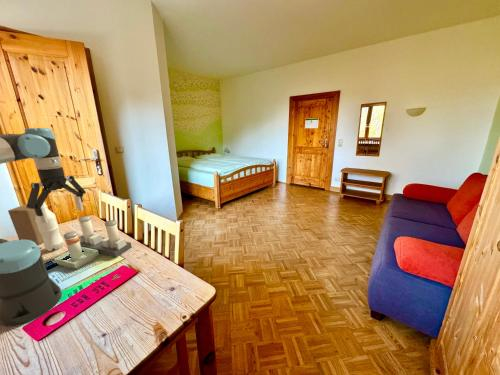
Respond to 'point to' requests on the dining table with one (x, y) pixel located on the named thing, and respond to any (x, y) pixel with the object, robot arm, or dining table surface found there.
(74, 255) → the marked fuse
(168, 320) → the dining table surface
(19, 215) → the wooden block
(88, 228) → the fuse far
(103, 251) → the block
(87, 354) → the dining table surface
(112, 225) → the cylinder
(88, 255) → the tray
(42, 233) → the water bottle
